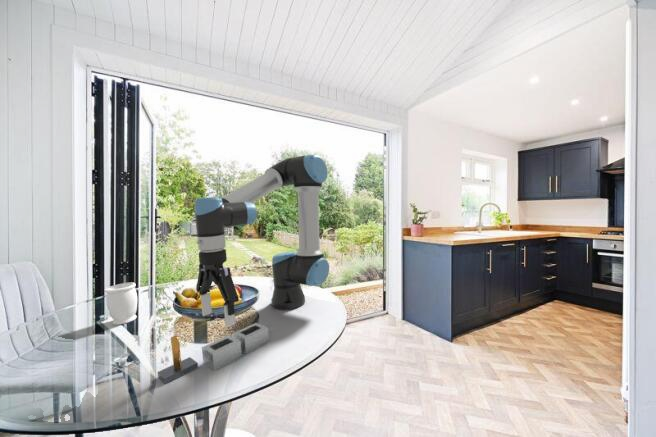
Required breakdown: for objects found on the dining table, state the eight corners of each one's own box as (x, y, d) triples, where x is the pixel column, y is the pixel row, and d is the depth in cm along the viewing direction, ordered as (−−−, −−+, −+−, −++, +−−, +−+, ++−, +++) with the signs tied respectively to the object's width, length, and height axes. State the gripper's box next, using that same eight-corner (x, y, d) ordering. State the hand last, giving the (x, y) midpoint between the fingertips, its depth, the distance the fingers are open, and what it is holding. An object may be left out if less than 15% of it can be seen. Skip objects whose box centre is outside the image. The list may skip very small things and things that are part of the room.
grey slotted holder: (257, 336, 101) (256, 322, 101) (268, 341, 97) (267, 327, 97) (234, 347, 94) (233, 333, 94) (246, 354, 90) (244, 338, 90)
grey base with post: (190, 361, 88) (186, 328, 87) (198, 367, 84) (194, 333, 83) (158, 377, 81) (153, 341, 80) (165, 384, 78) (160, 346, 77)
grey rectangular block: (230, 349, 93) (229, 335, 93) (241, 356, 89) (240, 340, 89) (203, 363, 86) (201, 347, 86) (214, 371, 82) (212, 354, 82)
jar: (124, 326, 115) (119, 290, 114) (102, 326, 118) (98, 290, 116) (145, 315, 126) (141, 282, 124) (125, 314, 128) (121, 282, 127)
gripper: (180, 248, 90) (187, 314, 92) (222, 256, 74) (229, 336, 75) (204, 244, 96) (209, 306, 97) (247, 251, 79) (253, 325, 81)
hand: (218, 319), depth 86 cm, fingers open, 13 cm apart
